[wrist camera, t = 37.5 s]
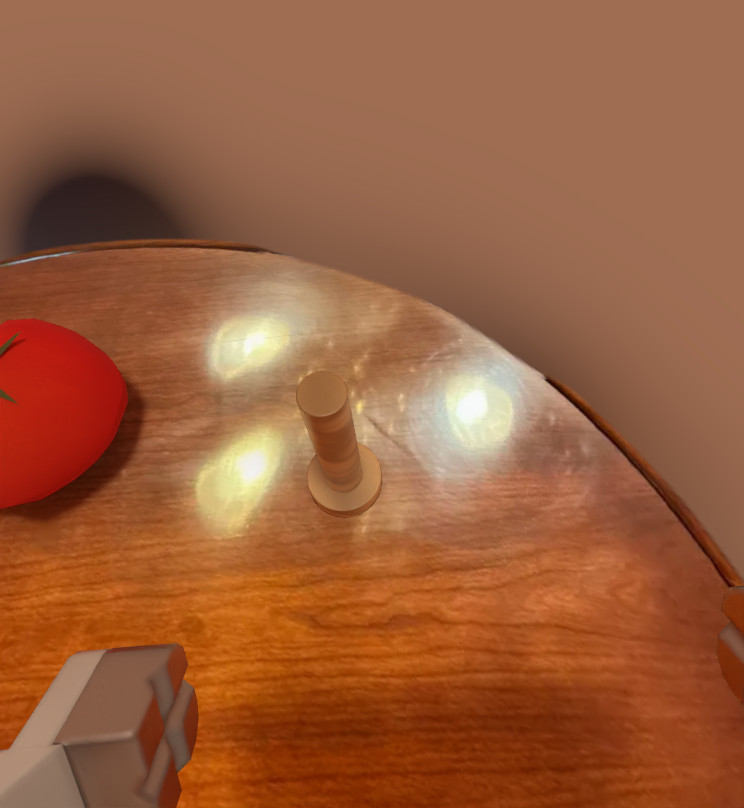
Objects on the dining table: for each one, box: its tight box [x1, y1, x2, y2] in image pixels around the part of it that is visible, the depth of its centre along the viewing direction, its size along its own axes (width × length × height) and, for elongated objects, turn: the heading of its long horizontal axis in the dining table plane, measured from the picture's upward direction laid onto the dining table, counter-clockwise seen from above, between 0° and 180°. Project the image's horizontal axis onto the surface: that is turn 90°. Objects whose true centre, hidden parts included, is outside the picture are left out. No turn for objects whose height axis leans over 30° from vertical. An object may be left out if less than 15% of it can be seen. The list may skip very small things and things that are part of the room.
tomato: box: [0, 318, 128, 509], centre depth 38 cm, size 13×12×11 cm
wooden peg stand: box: [296, 371, 382, 517], centre depth 34 cm, size 5×5×14 cm
